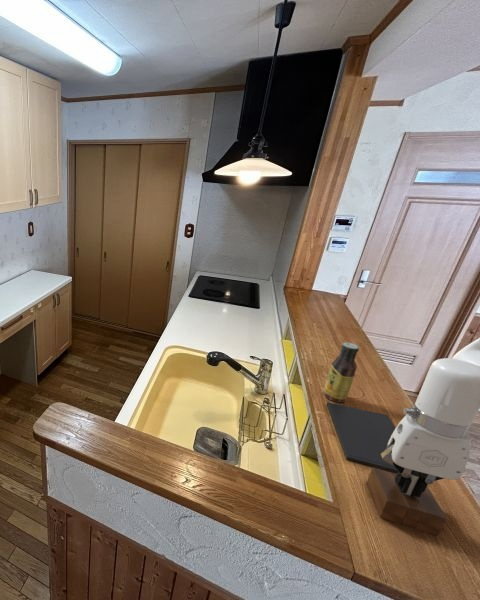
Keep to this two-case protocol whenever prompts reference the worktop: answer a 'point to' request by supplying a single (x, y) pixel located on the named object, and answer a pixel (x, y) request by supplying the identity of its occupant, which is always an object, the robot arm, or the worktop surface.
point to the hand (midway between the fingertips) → (407, 489)
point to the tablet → (362, 435)
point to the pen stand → (404, 504)
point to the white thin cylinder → (413, 481)
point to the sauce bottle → (341, 374)
